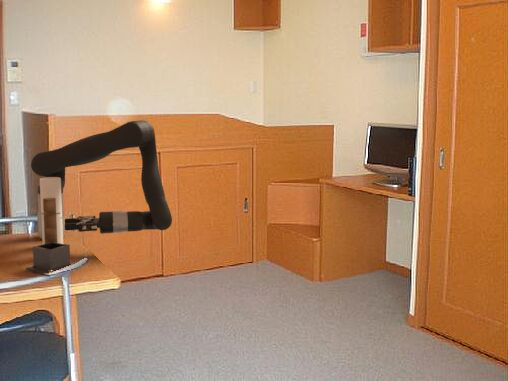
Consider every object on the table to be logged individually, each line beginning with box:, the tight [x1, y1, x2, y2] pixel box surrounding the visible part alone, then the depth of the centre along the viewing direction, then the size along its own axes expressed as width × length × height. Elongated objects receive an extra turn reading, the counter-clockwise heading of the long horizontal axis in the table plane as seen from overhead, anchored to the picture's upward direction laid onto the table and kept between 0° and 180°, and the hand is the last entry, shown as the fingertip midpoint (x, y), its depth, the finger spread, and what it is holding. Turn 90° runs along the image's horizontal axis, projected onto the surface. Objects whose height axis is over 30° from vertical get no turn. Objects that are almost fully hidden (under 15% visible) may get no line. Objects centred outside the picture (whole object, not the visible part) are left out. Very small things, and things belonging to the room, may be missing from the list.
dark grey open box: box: [25, 242, 73, 275], centre depth 192 cm, size 11×11×8 cm
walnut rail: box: [43, 198, 57, 244], centre depth 206 cm, size 4×4×20 cm
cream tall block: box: [39, 176, 64, 244], centre depth 219 cm, size 7×7×25 cm
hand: (64, 224), depth 207 cm, fingers open, 8 cm apart
